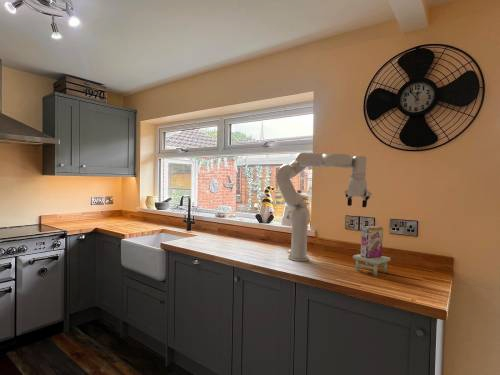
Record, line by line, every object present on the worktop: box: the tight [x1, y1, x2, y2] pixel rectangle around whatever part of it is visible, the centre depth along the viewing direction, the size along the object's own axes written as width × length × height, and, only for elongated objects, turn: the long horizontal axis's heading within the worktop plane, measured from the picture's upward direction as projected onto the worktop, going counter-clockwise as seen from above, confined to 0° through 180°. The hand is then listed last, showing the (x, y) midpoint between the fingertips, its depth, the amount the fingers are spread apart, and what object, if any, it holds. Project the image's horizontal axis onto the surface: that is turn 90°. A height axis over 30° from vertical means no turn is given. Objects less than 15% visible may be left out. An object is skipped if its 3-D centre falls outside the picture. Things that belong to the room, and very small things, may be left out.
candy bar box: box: [360, 225, 384, 258], centre depth 162 cm, size 11×5×16 cm, turn 113°
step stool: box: [352, 253, 391, 277], centre depth 162 cm, size 14×14×8 cm
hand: (356, 206), depth 174 cm, fingers open, 9 cm apart
